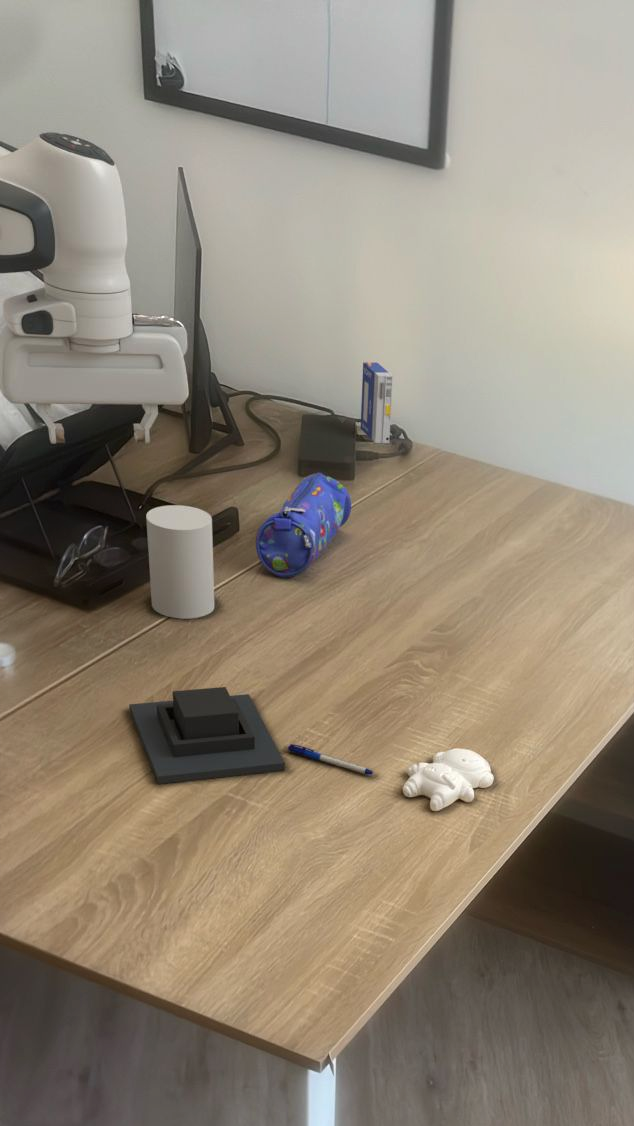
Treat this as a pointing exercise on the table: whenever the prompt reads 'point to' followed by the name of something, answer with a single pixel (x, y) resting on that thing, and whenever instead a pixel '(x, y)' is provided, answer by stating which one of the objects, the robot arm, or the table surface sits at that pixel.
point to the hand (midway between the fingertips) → (100, 441)
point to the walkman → (376, 402)
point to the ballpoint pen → (327, 759)
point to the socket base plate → (205, 745)
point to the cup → (181, 561)
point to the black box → (205, 713)
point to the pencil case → (303, 525)
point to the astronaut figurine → (448, 777)
